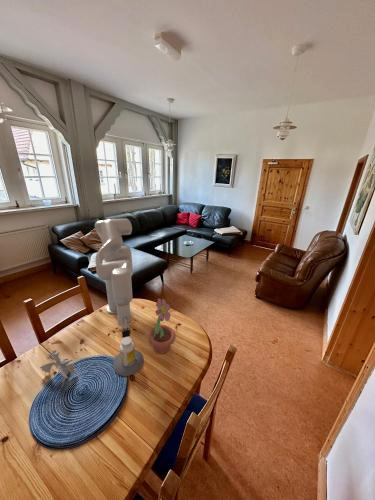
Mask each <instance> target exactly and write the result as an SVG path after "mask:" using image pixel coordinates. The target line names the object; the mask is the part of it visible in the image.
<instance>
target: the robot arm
mask: <svg viewBox="0 0 375 500" xmlns="http://www.w3.org/2000/svg"><path fill="white" fill-rule="evenodd" d="M94 229H95V232H96V234H97V235H98V238H100V240H101V246H100V248H99V249H98V250H97V253H96V255H95V258H94V259H95V260H94V261H95V270H96V276H97V278H98V279H99V280H101V281H105V287H106V288H105V289H106V296H107V303H108V304H106V307H105V308H106V312H107V313H109V314H111V315H112V314H113V315H115V314H116V316H117V324H118V326H121V335H122V339H123V338H125V337H131V329H130V324H131V302H132V301H133V288H132V287H133V285H132V276H133V274H134V268H133V257H132V251H131V250H132V249H131V248H130V246H128V245H124V241H123V237H122V236H128V235H131V234H132V232H133V231H132V230H133V226H132V223H131V221H130V219H128V218H126V217H125V218H124V217H123V218H109V219H102V220H97V221H96V222H95V223H94ZM103 261H104V262H103Z"/></svg>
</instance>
